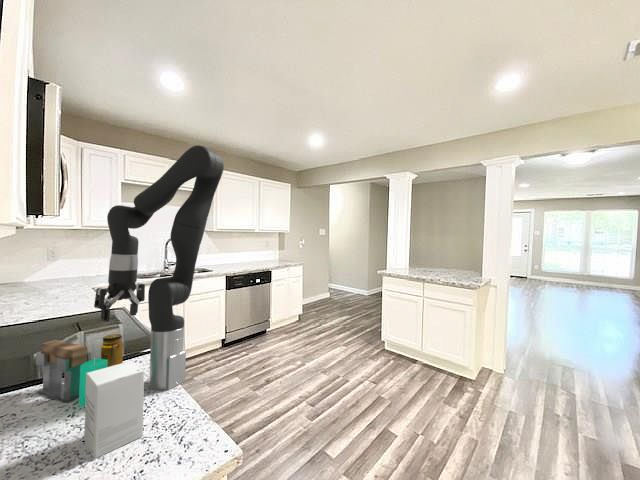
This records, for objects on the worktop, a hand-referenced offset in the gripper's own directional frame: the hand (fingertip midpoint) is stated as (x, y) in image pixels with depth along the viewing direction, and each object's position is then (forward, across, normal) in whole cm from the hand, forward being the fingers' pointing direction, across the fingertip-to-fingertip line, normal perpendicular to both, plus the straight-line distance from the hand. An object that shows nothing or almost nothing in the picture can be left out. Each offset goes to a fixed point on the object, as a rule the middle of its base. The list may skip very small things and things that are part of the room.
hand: (119, 318), depth 90 cm
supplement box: (+18, -18, -28) cm, 38 cm away
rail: (+11, -12, +5) cm, 17 cm away
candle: (+20, -11, -7) cm, 23 cm away
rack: (+20, -12, +5) cm, 24 cm away
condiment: (+20, +4, +7) cm, 22 cm away
